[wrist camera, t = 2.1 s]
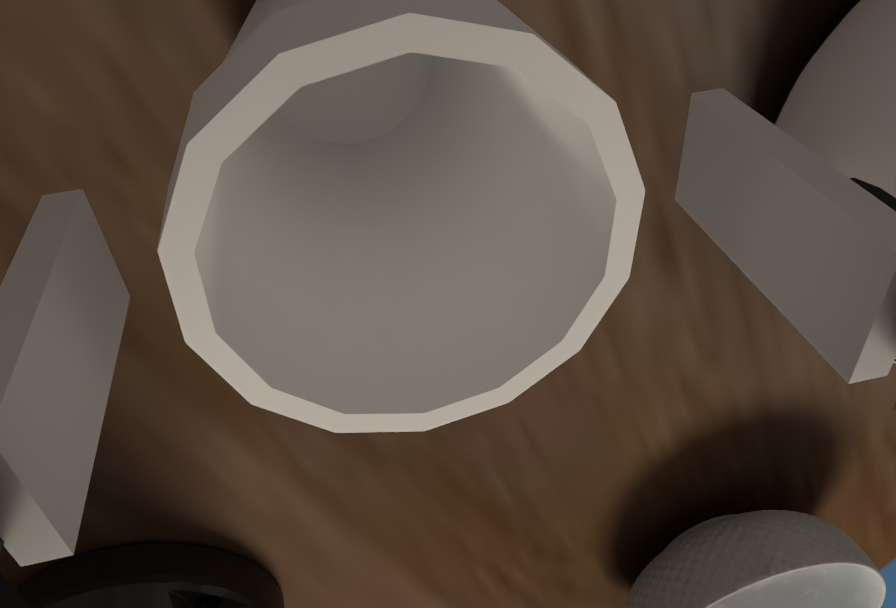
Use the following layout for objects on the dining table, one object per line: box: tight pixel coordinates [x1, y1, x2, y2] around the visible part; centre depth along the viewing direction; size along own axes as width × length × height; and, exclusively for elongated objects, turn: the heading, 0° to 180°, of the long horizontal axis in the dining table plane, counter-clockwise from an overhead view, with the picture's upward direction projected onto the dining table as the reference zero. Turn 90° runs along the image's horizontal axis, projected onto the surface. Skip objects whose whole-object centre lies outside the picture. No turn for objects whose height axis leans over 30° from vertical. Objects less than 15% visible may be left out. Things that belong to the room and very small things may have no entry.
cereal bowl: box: [624, 510, 886, 608], centre depth 47 cm, size 17×17×7 cm
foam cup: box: [158, 0, 645, 433], centre depth 19 cm, size 10×9×13 cm
